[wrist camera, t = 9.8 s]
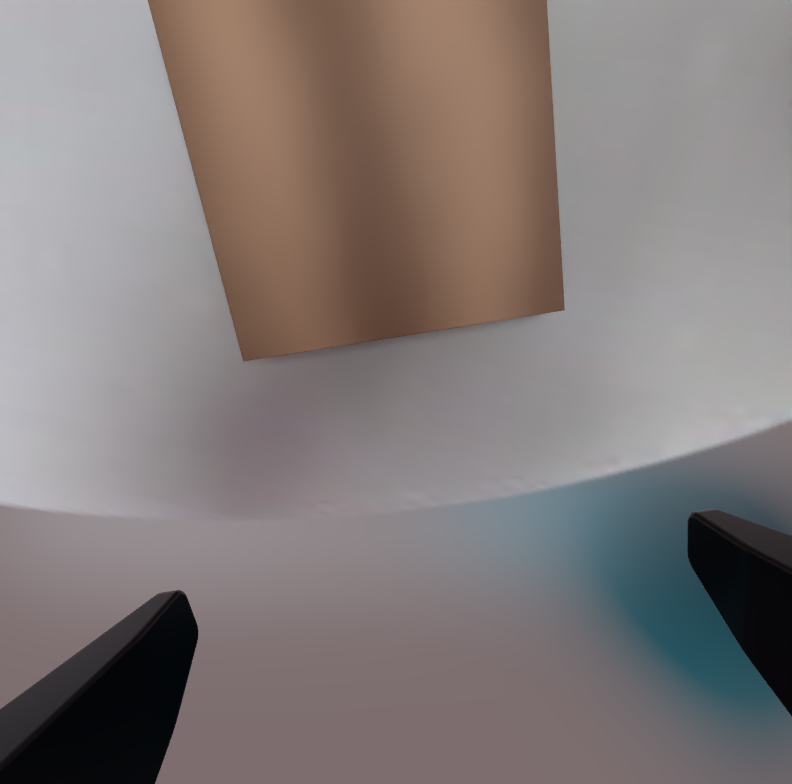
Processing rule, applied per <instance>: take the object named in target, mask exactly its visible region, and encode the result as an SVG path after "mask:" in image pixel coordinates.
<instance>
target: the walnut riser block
mask: <svg viewBox="0 0 792 784" xmlns="http://www.w3.org/2000/svg"><path fill="white" fill-rule="evenodd" d="M148 3H149V6H150V10H151V14H152V18H153V22H154V25H155V29H156V33H157V37H158V40H159V44H160V48H161V52H162V56H163V59H164V63H165V67H166V71H167V74H168V78H169V82H170V86H171V90H172V93H173V97H174V101H175V105H176V108H177V112H178V116H179V120H180V123H181V127H182V131H183V135H184V139H185V142H186V146H187V150H188V154H189V157H190V161H191V165H192V169H193V173H194V176H195V180H196V184H197V188H198V191H199V195H200V199H201V203H202V207H203V210H204V214H205V218H206V222H207V225H208V229H209V233H210V237H211V241H212V244H213V248H214V252H215V256H216V259H217V263H218V267H219V271H220V274H221V278H222V282H223V286H224V290H225V293H226V297H227V301H228V305H229V308H230V312H231V316H232V320H233V324H234V327H235V331H236V335H237V339H238V342H239V346H240V350H241V354H242V358H243V361H249V360H255V359H262V358H268V357H274V356H280V355H287V354H293V353H299V352H305V351H312V350H318V349H324V348H331V347H337V346H343V345H349V344H356V343H362V342H368V341H374V340H381V339H387V338H393V337H399V336H406V335H412V334H418V333H424V332H431V331H437V330H443V329H450V328H456V327H462V326H468V325H475V324H481V323H487V322H493V321H500V320H506V319H512V318H518V317H525V316H531V315H537V314H543V313H550V312H556V311H562V310H565V309H564V292H563V275H562V258H561V240H560V223H559V206H558V188H557V171H556V154H555V137H554V119H553V102H552V85H551V67H550V50H549V33H548V16H547V0H148Z"/></svg>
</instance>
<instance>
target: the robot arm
mask: <svg viewBox="0 0 792 784" xmlns="http://www.w3.org/2000/svg"><path fill="white" fill-rule="evenodd" d="M687 551H688V558H689V562H690V564H691V566H692V568H693V570H694V572H695V573H696V575H697V577H698V578H699V580H700V581H701V583H702V585H703V586H704V588H705V590H706V591H707V593H708V595H709V596H710V598H711V599H712V601H713V603H714V605H715V606H716V608H717V609H718V611H719V613H720V614H721V616H722V618H723V619H724V621H725V623H726V624H727V626H728V628H729V629H730V631H731V632H732V634H733V636H734V637H735V639H736V640H737V642H738V644H739V645H740V647H741V648H742V650H743V651H744V652H745V654H746V655H747V657H748V658H749V660H750V661H751V662H752V664H753V665H754V666H755V668H756V669H757V670H758V672H759V673H760V674H761V676H762V677H763V678H764V680H765V681H766V682H767V684H768V685H769V687H770V688H771V689H772V690H773V692H774V693H775V694H776V696H777V697H778V698H779V700H780V701H781V702H782V704H783V705H784V706H785V708H786V709H787V711H788V712H789V713H790V715H791V716H792V536H791V535H789V534H786V533H783V532H780V531H778V530H775V529H771V528H769V527H766V526H763V525H760V524H758V523H754V522H752V521H749V520H746V519H743V518H740V517H738V516H735V515H732V514H729V513H726V512H723V511H720V510H717V509H709V510H703V511H696V512H692V513H691V514H690V515H689V517H688V549H687ZM197 640H198V626H197V623H196V620H195V617H194V615H193V612H192V610H191V607H190V604H189V602H188V599H187V596H186V594H185V593H184V592H183V591H180V590H176V591H170V592H163V593H159V594H157V595H156V596H154V597H153V598H151V599H150V600H149V601H147V602H146V603H145V604H143V605H142V606H141V607H139V608H138V609H136V610H135V611H134V612H132V613H131V614H130V615H128V616H127V617H126V618H124V619H123V620H121V621H120V622H119V623H117V624H116V625H115V626H113V627H112V628H110V629H109V630H108V631H106V632H105V633H104V634H102V635H101V636H100V637H98V638H97V639H95V640H94V641H93V642H91V643H90V644H89V645H87V646H86V647H85V648H83V649H82V650H80V651H79V652H78V653H76V654H75V655H74V656H72V657H71V658H69V659H68V660H67V661H65V662H64V663H63V664H61V665H60V666H59V667H57V668H56V669H54V670H53V671H52V672H51V673H49V674H48V675H46V676H45V677H44V678H42V679H41V680H40V681H38V682H37V683H35V684H34V685H33V686H31V687H30V688H29V689H27V690H26V691H24V692H23V693H22V694H21V695H19V696H18V697H16V698H15V699H14V700H12V701H11V702H9V703H8V704H7V705H5V706H4V707H3V708H1V709H0V784H155V782H156V779H157V776H158V773H159V771H160V768H161V765H162V762H163V760H164V757H165V754H166V751H167V748H168V746H169V743H170V740H171V737H172V734H173V731H174V728H175V724H176V721H177V717H178V714H179V710H180V706H181V703H182V698H183V695H184V691H185V687H186V683H187V679H188V675H189V671H190V668H191V664H192V660H193V656H194V652H195V648H196V644H197Z"/></svg>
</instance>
